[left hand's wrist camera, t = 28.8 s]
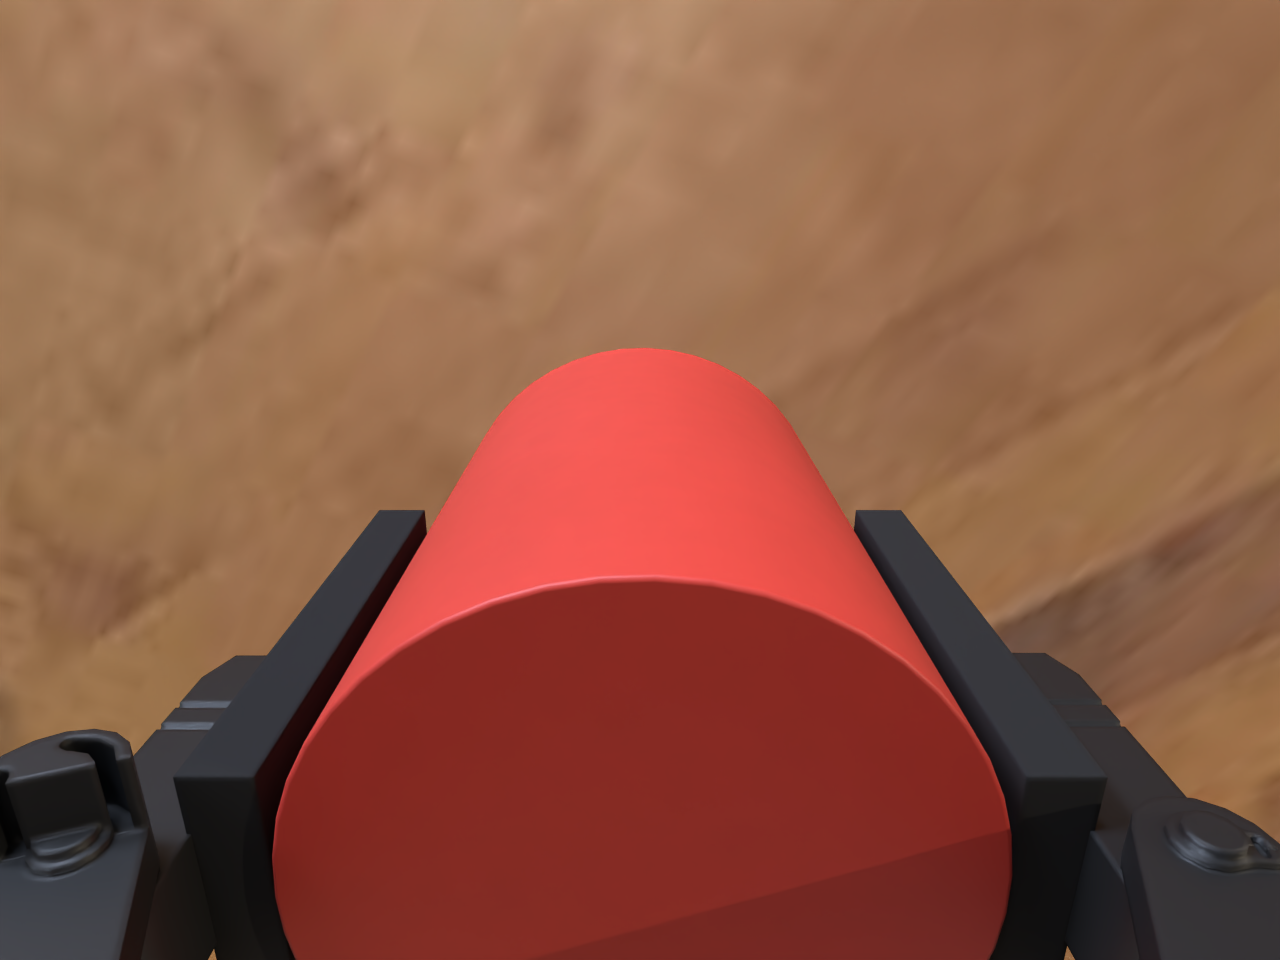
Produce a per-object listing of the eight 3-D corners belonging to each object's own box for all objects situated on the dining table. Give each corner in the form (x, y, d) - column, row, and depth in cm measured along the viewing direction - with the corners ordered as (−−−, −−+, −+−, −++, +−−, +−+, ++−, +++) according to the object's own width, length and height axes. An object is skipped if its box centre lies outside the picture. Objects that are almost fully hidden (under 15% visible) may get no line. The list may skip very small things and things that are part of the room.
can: (398, 543, 17) (135, 945, 8) (613, 269, 15) (575, 404, 6) (663, 725, 19) (685, 1229, 10) (889, 497, 17) (1172, 866, 8)
